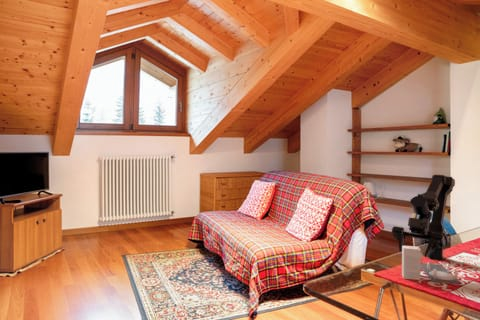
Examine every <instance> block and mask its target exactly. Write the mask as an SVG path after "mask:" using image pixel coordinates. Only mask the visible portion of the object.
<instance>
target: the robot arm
mask: <svg viewBox="0 0 480 320" xmlns="http://www.w3.org/2000/svg"><path fill="white" fill-rule="evenodd" d="M455 185H456V180H455V178H453V176H447V175H444V174H432V177H431V181H430V183H429V185H428V186H427V189H426V191H425V192H424V193H418V194H417V195H415V196H413V197H412V198H411V199H410V201H409V203H410V205H411V209H412V211H413V213H414V214H415V217H408V223H407V226H408V229H409V231H407V230H405V228H404V227H403V226H398V225H397V226H396V225H394V226H392V228H391V233H392V236H393V238H395V239H396V241H398V249H399V253H402V246H405V242H406V241H405V239H406V237H408V238H414V239H418V240H419V239H420V240H423V242H424V244H427V247H426V249H425V251H424V258H428V259H430V260H438V261H440V260H442V261H446V258H445V257H444V248H447V247H449V240H448V236H447V233H446V229H445V228H444V225H443V224H444V218H445V212H446V205H447V200H448V196H449V195H450V194H452V192H453V189H454V187H455Z"/></svg>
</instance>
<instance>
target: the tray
mask: <svg viewBox="0 0 480 320" xmlns="http://www.w3.org/2000/svg"><path fill="white" fill-rule="evenodd" d="M421 271H422V272H423V271H424V272H425V273H426V274H425V273H424V272H423V273H424V274H425V275H426V276H427V277H428V279H430V281H431V282H432V281H433V283H440V282H441V283H442V284H453V285H454V284H456V285H460V280H459V279H458V274H459V270H456V269H454V275H453V273H451V264H450V263H447V264H446V267H445V266H444V265H442V264H439V263H438V264H437V263H436V264H435V263H430V262H429V261H428V262H427V263H425V262H424V263H422V262H421Z"/></svg>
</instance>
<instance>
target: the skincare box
mask: <svg viewBox="0 0 480 320" xmlns="http://www.w3.org/2000/svg"><path fill="white" fill-rule="evenodd" d="M421 253H422V249H421V248H420V247H419V246H415V245H413V246H412V245H403V246H402V251H401V276H402V278H403V279H404V280H414V281H421V278H422V277H421V276H422V275H421V274H422V273H421V271H422V269H421V263H422V262H421V260H422V254H421Z"/></svg>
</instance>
